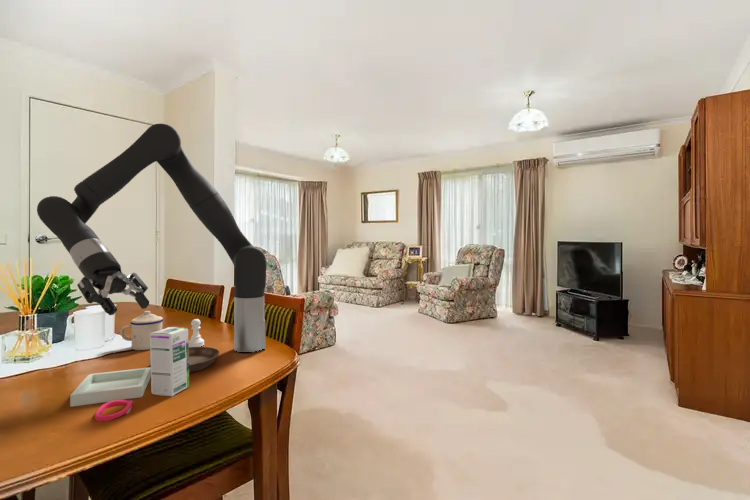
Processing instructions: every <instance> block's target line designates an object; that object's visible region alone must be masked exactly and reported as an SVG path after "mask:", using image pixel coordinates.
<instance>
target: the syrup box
mask: <svg viewBox="0 0 750 500" xmlns="http://www.w3.org/2000/svg"><path fill="white" fill-rule="evenodd" d="M188 341H189V329H188V327H187V328H186V327H183V326H182V327H181V326H180V327H179V326H169V327H166V328H162V330H159V331H156V332H153V333H151V334H150V349H149V350H150V352H149V353H150V355H149V357H150V359H151V365H150V367H151V378H150V388H151V391H150V392H151V394H152V395H155V396H165V397H174V396H175V395H177V394H178V393H180V392H182V391H184V390H185V389H188V388H189V387H190V373H189V347H188Z"/></svg>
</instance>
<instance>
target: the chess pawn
mask: <svg viewBox="0 0 750 500" xmlns="http://www.w3.org/2000/svg"><path fill="white" fill-rule="evenodd" d="M190 324H191V326H192V327H191V328H190V329H191V330H193V332H192V335H191V336H190V339H188V348H189V347H201V346H202V347H204V346H205V339H203V337H202V335H201V334H200V332H199V330H200V329H201V328H202V327H201V326H200V325H201V320H200V319H199V318H194V319H192V320H191V322H190ZM203 345H204V346H203Z"/></svg>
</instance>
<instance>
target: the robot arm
mask: <svg viewBox="0 0 750 500" xmlns="http://www.w3.org/2000/svg"><path fill="white" fill-rule="evenodd" d="M155 162H156V163H157V164H158V165H160V167H161V168H162V169H163V171H165V173H166V174H167V175H168V176H169V177H170V179H171V180H172V181H173V183H174V185H175V186H176V188H177V189H178V191H179V193H180V194H181V196H182V197H183V199H184V201H185V202H186V204H187V205H188V206H189V208H190V209H191V210H192V212H193V213H194V214H195V216H196V217H197V219H198V220H199V221H200V222H201V224H203V226H204V227H205V228H206V230H208V231H209V233H211V234H212V236H214V237H215V238H216V240H217V241H218V242H219V243H220V245H221V246H222V248H223V249H224V251H225V252H226V254H227V256H228V257H229V258H230V260H231V262H232V264H233V266H234V268H235V284H234V290H233V293H234V297H233V302H234V303H233V304H234V305H233V308H234V309H233V310H234V311H233V314H234V320H233V321H234V322H233V323H234V325H233V326H234V328H233V330H234V331H233V335H234V336H233V338H234V339H233V340H234V343H233V346H234V347H233V348H234V349H233V350H234V352H236V351H237V352H236V353H239V352H252V353H256V352H255V351H257V352H260V351H263V350H262V349H265V350H266V319H265V291H266V285H267V260H266V259H267V257H266V255H265V253H264V252H263V251H262V250H261V249H259V248H258V247H255V246H254V245H253V244H252V243H251V241H249V240H248V238H247V237H246V236H245V235H244V233H243V232H242V231H241V229H240V228H239V226H238V224H237V222H236V220H235V218H234V217H235V216H233V213H232V211H231V210H230V208H229V206H228V204H227V202H226V201H225V200H224V198H223V197H222V196H221V195H220V193H219V192H218V190H217V189H216V187H215V186H213V185H212V183H210V181H208V180H207V179H206V178H205V177H204V176H203V175H202V174H201V173H200V172H199V171H198V169H196V168H195V167H194V165H193V163H192V162H191V160H190V159H189V158H188V156H187V155H186V153H185V151H184V149H183V148H182V140H181V136H180V134H179V132H178V130H176V129H175V128H174V127H173V126H171V125H169V124H166V123H155V124H152V125H150V126H148V128H147V129H146V130H145V131H144V132H143V133H142V134H141V135H140V136H139V137H138V138H137V139H136V140H135V141H134V142H133V143H132V144H130V145H129V147H128V148H126V149H125V150H124V151H123V152H122V153H120V154H119V155H117V156H116V157H115V158H113V159H112V160H110V161H109V162H108V163H107V164H105V165H104V166H102V167H100V168H98V169H97V170H96V171H94V172H93V173H91V174H90V175H89V176H87V177H86V178H84V179H83V180H82V181H79V183H77V184H76V185H75V186H74V189H73V191H74V193H75V195H76V198H75V199H74V200H73V201H72V202H70V201H68V200H67V199H65V198H63V197H61V196H55V195H52V196H51V195H50V196H47V197H44V198H42V199H41V200H40V201H39V202H38V203H37V205H36V206H37V207H36V211H37V212H36V213H37V216H38V217H39V220H40V221H41V222H42V223H43V224H44V225H45V226H46V228H48V229H49V230H50V231H51V232H52V234H54V235H55V236H56V238H58V240H60V242H61V243H62V245H63V247H64V248H65V250H66V251H67V252H68V254H69V255H70V256H71V258H72V261H73V262H74V264H75V266H76V267H77V268H78V269H79V271H80V273H81V274H82V276H83V277H82V278H81V280H79V282H78V283H77V284H76V285H77V287H78V289H79V291H80V293H81V294H82V296H83V297H84V299H85V301H86V303H87V304H93V303H97V304H98V305H100V307H101V308H102V310H103V311H104V312H105V313H106V314H108V315H109V316H114V315H115V313H117V311H118V308H117V305H115V304H114V301H112V299H111V298H110V297H108V295H113V294H124V295H125V296H128V295H129V296H131V297H133V298H134V300H135V302H136V303H137V304H138V305H139V307H140V309H142V310H143V309H147V308H148V307H149V305H150V300H149V299H148V298H147V296H146V295H145V293H146V292H147V290H148V289H149V287H148V286H147V285H146V283H144V281H143V280H142V279H141V277H140V276H139V275H138V274H137V273H136V272H132V273H131V274H129V275H126V274H125V273H123V271H122V267H121V264H120V263H119V262H118V260H117V259H116V258H115V256H114V255H113V254H112V252H111V251H110V249H109V248H108V247H107V246H106V245H105V244H104V243H103V242H102V240H101V239H100V238H99V237H98V235H97V234H96V233H95V232H94V230H93V229H92V228H91V227H90V226H88V225H87V224H86V223H88V221H89V220H90V218H92V217H93V215H94V214H95V213H96V212H97V211H98V209H99V207H100V206H101V205H103V204H104V203H105V202H107V201H108V200H110V198H112V197H114V196H115V195H116V194H117V193H119V192H120V191H121V190H122V189H124V188H125V187H126V186H127V185H128V184H129V183H130V182H131V181H132V180H133V179H134V178H136V176H137V175H139V174H140V173H141V172H142V171H144V170H145V169H146V168H147V167H149V166H150V165H152V164H154V163H155ZM127 286H128V288H127ZM126 288H127V289H126ZM96 289H97V290H98V291H96ZM259 350H260V351H259Z"/></svg>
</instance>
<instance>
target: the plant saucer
mask: <svg viewBox="0 0 750 500" xmlns="http://www.w3.org/2000/svg"><path fill="white" fill-rule="evenodd" d="M188 348H189V374H190V373H193V372H194V373H195V372H198V371H201V370H204V369H206V368H207V367H209V366H211V365H212V364H213V363H214V362H215V361H216V360H217V358H218V357H219V354H220V351H219V350H218V349H217V348H214V347H211V346H210V347H209V346H202V347H188ZM148 364H149V366H151V358H149V360H148Z"/></svg>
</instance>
